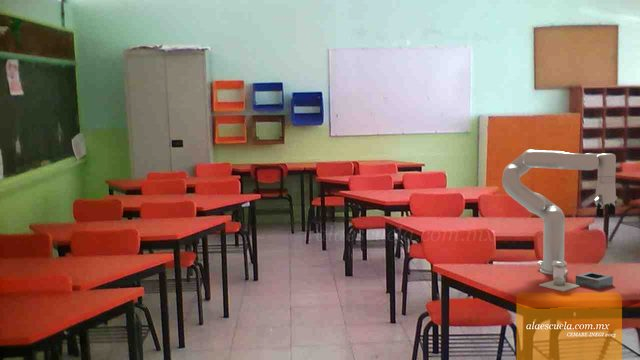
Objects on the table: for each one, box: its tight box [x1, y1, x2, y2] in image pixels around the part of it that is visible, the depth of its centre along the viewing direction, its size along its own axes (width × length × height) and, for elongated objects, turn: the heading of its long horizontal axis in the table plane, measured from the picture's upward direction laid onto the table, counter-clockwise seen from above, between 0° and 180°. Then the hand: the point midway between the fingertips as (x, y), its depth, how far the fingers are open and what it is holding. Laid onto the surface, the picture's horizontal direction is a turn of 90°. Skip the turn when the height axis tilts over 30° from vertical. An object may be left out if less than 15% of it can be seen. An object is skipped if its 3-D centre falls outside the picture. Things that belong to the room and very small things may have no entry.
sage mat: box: [538, 280, 580, 292], centre depth 267 cm, size 12×12×1 cm
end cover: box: [552, 260, 568, 286], centre depth 266 cm, size 6×6×10 cm
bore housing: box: [575, 271, 614, 290], centre depth 268 cm, size 11×11×4 cm
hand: (605, 215), depth 282 cm, fingers open, 9 cm apart
